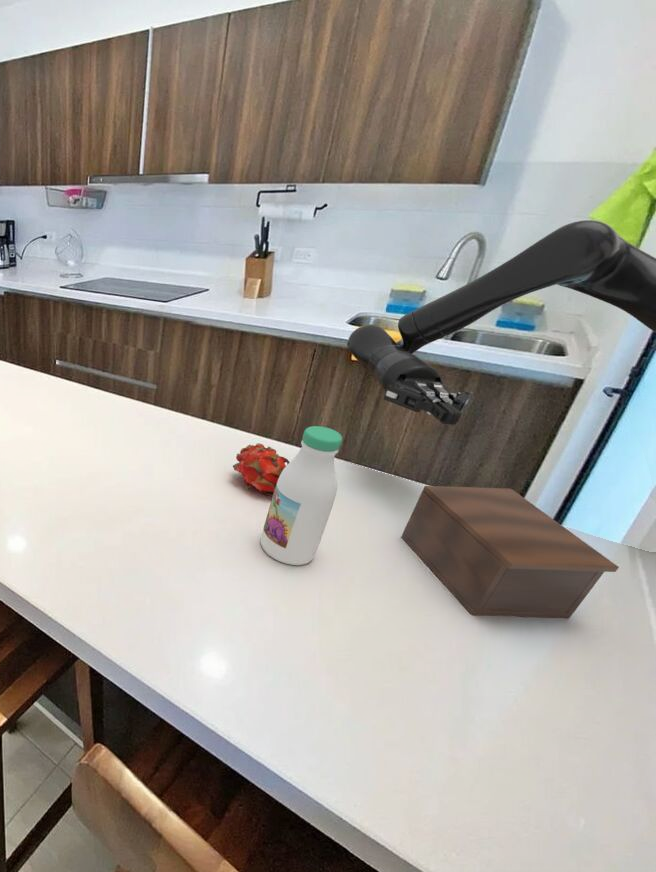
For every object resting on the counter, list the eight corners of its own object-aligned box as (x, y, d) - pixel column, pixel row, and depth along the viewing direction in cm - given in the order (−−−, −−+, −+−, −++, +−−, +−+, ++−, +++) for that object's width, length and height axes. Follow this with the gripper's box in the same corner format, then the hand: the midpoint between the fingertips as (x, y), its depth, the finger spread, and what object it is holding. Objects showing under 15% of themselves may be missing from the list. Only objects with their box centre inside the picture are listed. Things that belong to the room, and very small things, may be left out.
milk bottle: (309, 538, 78) (349, 424, 68) (318, 571, 71) (363, 450, 62) (257, 529, 80) (289, 416, 70) (261, 560, 73) (296, 441, 63)
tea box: (569, 618, 65) (608, 567, 61) (471, 615, 65) (502, 563, 61) (482, 539, 79) (508, 493, 74) (400, 536, 79) (422, 490, 74)
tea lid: (615, 572, 60) (619, 567, 59) (508, 568, 60) (511, 563, 59) (508, 492, 74) (511, 488, 74) (422, 490, 74) (424, 485, 74)
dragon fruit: (228, 476, 96) (284, 513, 89) (216, 468, 89) (276, 506, 82) (255, 440, 95) (314, 474, 88) (244, 428, 88) (307, 464, 81)
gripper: (372, 354, 89) (414, 391, 74) (454, 361, 86) (514, 400, 72) (359, 393, 92) (395, 436, 77) (437, 400, 90) (490, 446, 75)
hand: (452, 419), depth 75 cm, fingers closed
